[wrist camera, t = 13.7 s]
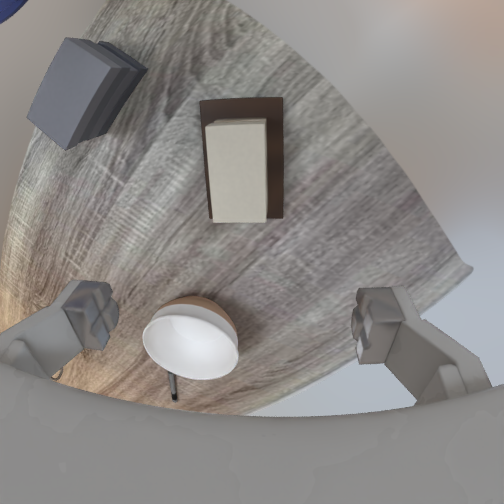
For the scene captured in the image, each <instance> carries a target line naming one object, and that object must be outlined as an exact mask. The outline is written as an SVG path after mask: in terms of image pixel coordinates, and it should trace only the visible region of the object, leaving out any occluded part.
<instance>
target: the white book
mask: <svg viewBox="0 0 504 504" xmlns="http://www.w3.org/2000/svg"><path fill="white" fill-rule="evenodd" d="M205 132H206V146H207V158H208V171H209V182H210V194H211V205H212V215H213V223H266V218H267V191H266V137H265V122H264V121H261V122H228V123H211V124H209V125H207V126H205Z"/></svg>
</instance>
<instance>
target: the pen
mask: <svg viewBox="0 0 504 504" xmlns="http://www.w3.org/2000/svg"><path fill="white" fill-rule="evenodd" d="M168 375H169V381H170V387H171V393H172V399H173V400H172V401H173V402H175V403H176V402H177V396H176V389H175V381H174V373H172V372H170V371H168Z"/></svg>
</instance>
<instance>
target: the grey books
mask: <svg viewBox="0 0 504 504" xmlns="http://www.w3.org/2000/svg"><path fill="white" fill-rule="evenodd" d="M147 70H148V68H146V67H145V66H143V65H142V64H140V63H139V62H138V61H136V60H135V59H133V58H132V57H130V56H129V55H127V54H126V53H124V52H123V51H121V50H120V49H118V48H117V47H115V46H113V45H112V44H110V43H109V42H103V41H99V43H98V44H95V43H94V42H92V41H90V40H85V39H78V38H65V39H64V41H63V43H62V44H61V46H60V48H59V50H58V52H57V54H56V55H55V57H54V59H53V61H52V63H51V65H50V67H49V68H48V71H47V72H46V75H45V76H44V79H43V81H42V83H41V85H40V87H39V89H38V91H37V94H36V96H35V98H34V100H33V103H32V105H31V108H30V111H29V113H28V115H27V118H28V119H29V120H30V121H31V122H32V123H33V124H34V125H36V126H37V127H38V128H39V129H40V130H41V131H43V132H44V133H45V134H46V135H47V136H48V137H50V138H51V139H52V140H53V141H54V142H56V143H57V144H58V145H59V146H60V147H62V148H63V149H64V150H65V151H66V150H68V149H70V148H72V147H75V146H77V144H78V143H80V142H82V141H85V140H90V139H92V138H95V137H98V136H101V135H104V134H106V133H107V131H108V129H109V128H110V126H111V124H112V123H113V121H114V119H115V118H116V116H117V115H118V113H119V111H120V110H121V108H122V107H123V105H124V104H125V102H126V101H127V99H128V97H129V96H130V94H131V93H132V92H133V90H134V89H135V87H136V86H137V84H138V83H139V81H140V80H141V79H142V77H143V76H144V74H145V73H146V72H147Z"/></svg>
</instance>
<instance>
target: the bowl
mask: <svg viewBox="0 0 504 504" xmlns="http://www.w3.org/2000/svg"><path fill="white" fill-rule="evenodd" d="M143 344H144V347H145V349H146V351H147V353H148V354H149V356H150V357H151V358H152V359H153V360H154V361H155V362H156V363H157V364H159V365H160V366H161V367H163V368H164V369H166V370H168V371H170V372H172V373H174V374H176V375H179V376H182V377H186V378H190V379H198V380H209V379H216V378H219V377H222V376H224V375H226V374H228V373H229V372H231V371H232V370H233V369H234V367H235V366H236V364H237V362H238V350H237V347H238V338H237V331H236V328H235V325H234V324H233V322H232V320H231V319H230V317H229V316H228V315H227V314H226V313H225V312H224V310H223V309H222V308H221V307H220V306H219V305H218V304H216V303H215V302H213V301H211V300H209V299H207V298H204V297H199V296H186V297H182V298H178V299H175V300H172V301H170V302H168V303H166V304H164V305H162V306H161V307H160V308H159V309H158V310H157V312H156V313H155V314H154V316H153V317H152V319H151V322H150V323H149V324H148V325H147V326H146V328H145V329H144V332H143Z"/></svg>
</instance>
